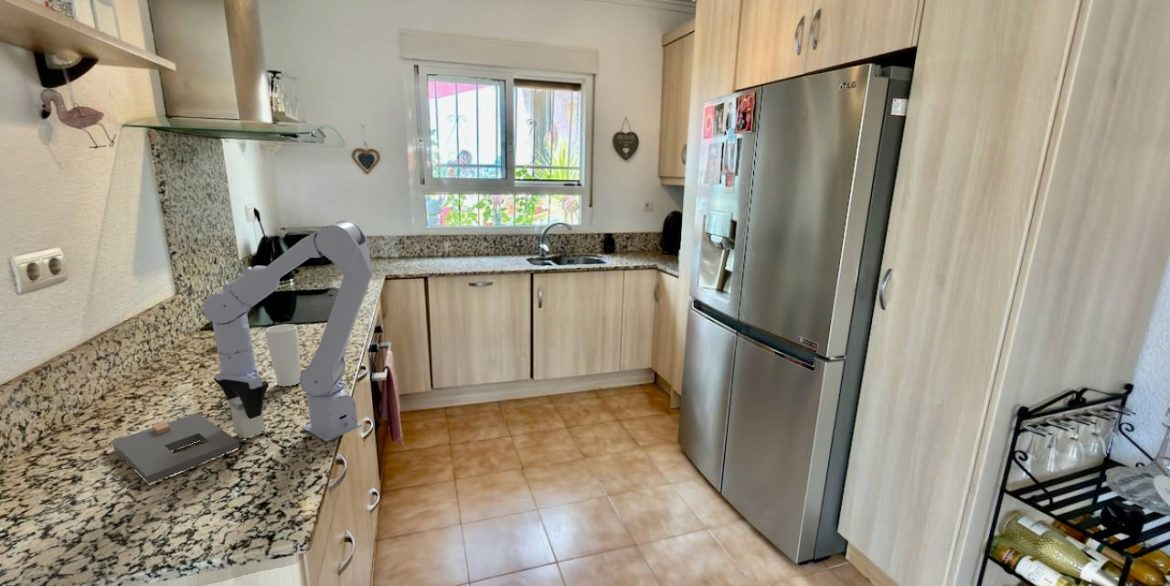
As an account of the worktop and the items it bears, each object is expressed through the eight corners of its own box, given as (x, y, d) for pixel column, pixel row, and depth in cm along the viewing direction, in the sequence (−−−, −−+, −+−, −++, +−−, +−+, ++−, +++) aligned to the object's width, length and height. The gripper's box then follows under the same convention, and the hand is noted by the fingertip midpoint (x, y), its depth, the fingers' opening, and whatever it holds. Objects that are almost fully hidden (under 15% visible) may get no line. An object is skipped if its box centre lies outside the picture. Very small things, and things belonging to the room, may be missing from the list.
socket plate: (239, 449, 97) (237, 436, 97) (149, 486, 86) (145, 471, 85) (198, 421, 108) (196, 408, 108) (114, 450, 97) (110, 436, 96)
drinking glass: (270, 390, 123) (261, 333, 120) (279, 379, 130) (270, 324, 126) (300, 387, 125) (292, 331, 121) (307, 376, 131) (300, 322, 128)
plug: (265, 432, 104) (259, 397, 102) (244, 441, 101) (237, 405, 99) (256, 426, 106) (250, 392, 104) (235, 435, 103) (228, 399, 101)
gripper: (196, 347, 99) (208, 409, 103) (228, 363, 92) (240, 429, 95) (236, 338, 105) (246, 396, 108) (269, 352, 97) (279, 415, 101)
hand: (246, 411), depth 102 cm, fingers open, 7 cm apart
